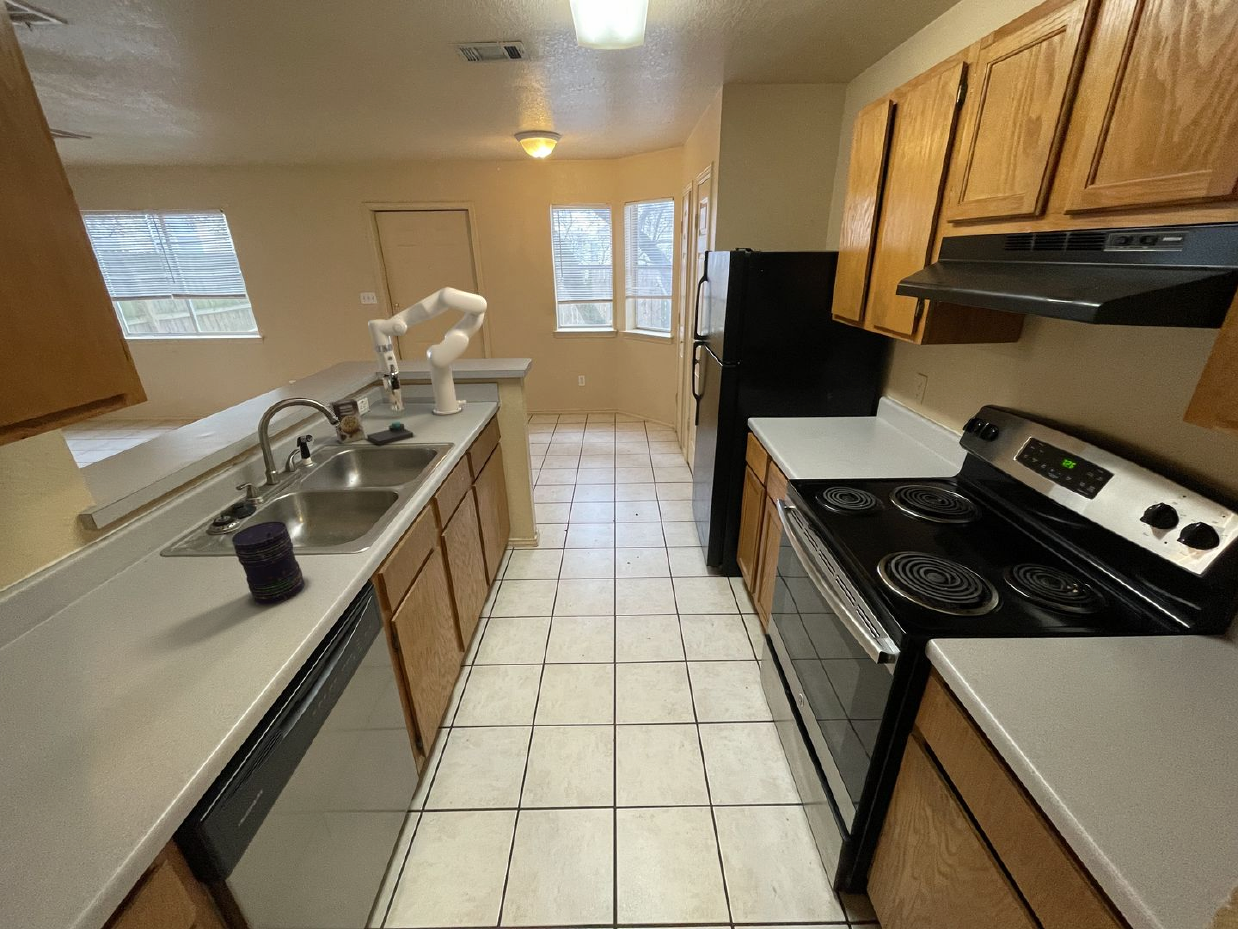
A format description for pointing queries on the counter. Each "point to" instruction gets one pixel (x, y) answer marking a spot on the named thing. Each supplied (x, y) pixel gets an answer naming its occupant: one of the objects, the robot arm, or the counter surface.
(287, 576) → the storage jar
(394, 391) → the beer glass
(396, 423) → the scale button
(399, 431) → the scale
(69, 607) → the counter surface
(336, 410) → the cookie box
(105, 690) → the counter surface
